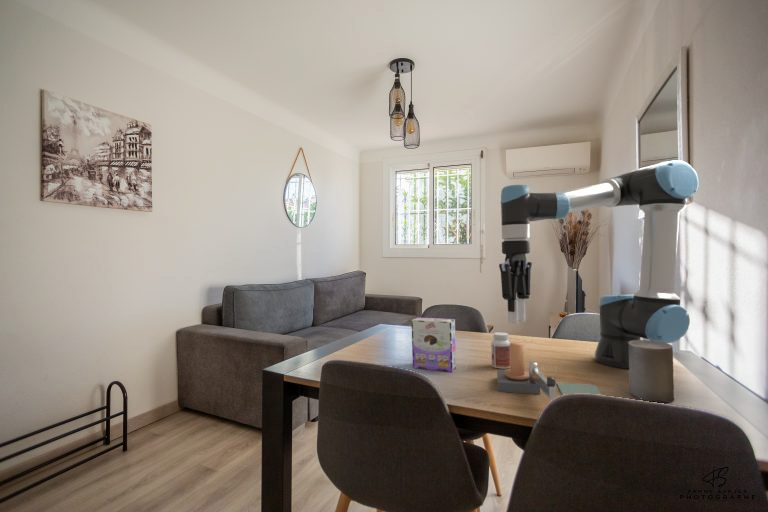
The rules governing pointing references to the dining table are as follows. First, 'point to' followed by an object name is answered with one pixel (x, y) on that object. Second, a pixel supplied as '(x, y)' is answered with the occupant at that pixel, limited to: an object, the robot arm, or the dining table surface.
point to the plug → (517, 363)
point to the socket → (515, 384)
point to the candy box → (434, 344)
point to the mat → (577, 388)
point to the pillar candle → (651, 370)
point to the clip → (542, 380)
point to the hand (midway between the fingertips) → (516, 321)
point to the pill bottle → (500, 351)
